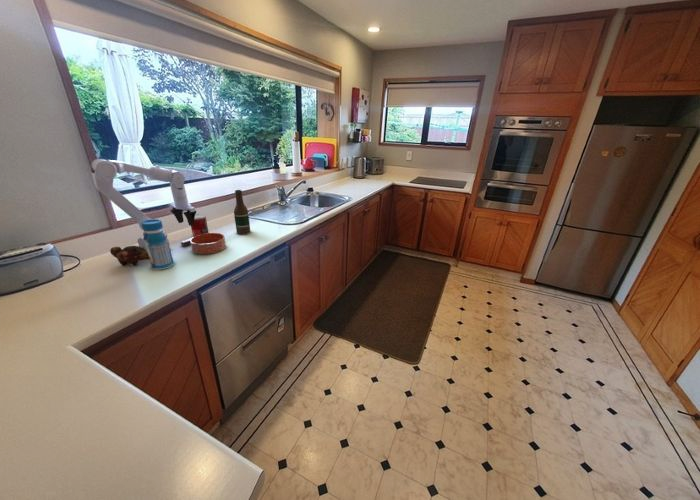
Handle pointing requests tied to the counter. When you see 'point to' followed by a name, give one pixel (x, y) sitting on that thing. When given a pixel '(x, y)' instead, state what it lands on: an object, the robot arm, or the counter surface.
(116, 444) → the counter surface
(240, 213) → the beer bottle
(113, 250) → the decorative turtle
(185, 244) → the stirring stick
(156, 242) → the beverage bottle
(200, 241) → the bowl
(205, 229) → the canned food
